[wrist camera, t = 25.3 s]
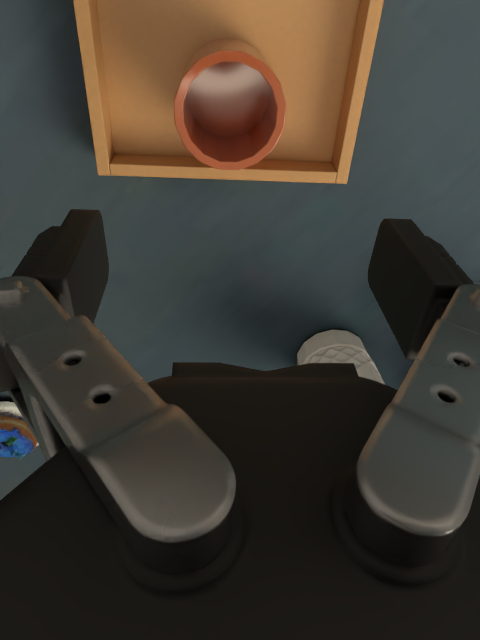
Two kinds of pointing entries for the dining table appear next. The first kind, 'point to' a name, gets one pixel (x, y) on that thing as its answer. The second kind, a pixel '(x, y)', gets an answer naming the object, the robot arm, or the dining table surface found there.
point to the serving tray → (198, 29)
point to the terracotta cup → (229, 105)
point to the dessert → (14, 432)
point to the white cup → (339, 352)
